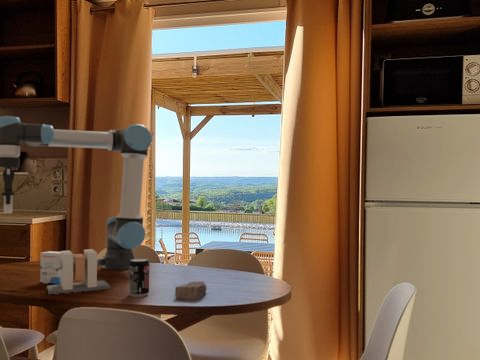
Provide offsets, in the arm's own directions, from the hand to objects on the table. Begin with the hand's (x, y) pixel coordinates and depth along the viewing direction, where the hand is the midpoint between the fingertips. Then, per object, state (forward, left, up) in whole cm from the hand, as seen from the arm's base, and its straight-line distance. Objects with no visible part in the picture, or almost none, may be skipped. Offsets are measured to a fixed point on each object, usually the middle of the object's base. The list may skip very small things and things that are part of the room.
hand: (8, 212), depth 161 cm
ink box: (-16, +6, -27) cm, 32 cm away
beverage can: (-40, +41, -27) cm, 63 cm away
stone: (-55, +50, -28) cm, 79 cm away
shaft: (-26, +22, -20) cm, 39 cm away
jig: (-23, +22, -27) cm, 41 cm away
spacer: (-23, +22, -23) cm, 39 cm away
